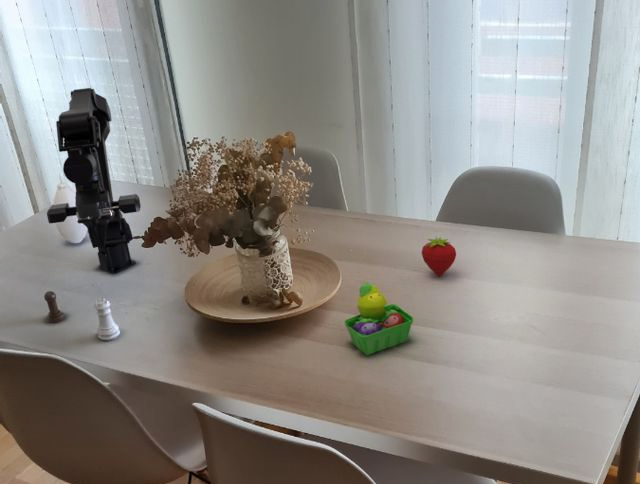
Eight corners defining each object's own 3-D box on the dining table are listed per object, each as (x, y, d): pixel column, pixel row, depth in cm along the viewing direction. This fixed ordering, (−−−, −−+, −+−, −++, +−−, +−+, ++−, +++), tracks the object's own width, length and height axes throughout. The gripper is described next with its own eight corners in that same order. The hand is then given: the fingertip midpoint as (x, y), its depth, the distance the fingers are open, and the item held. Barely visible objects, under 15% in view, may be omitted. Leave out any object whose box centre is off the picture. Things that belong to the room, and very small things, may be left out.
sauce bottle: (88, 247, 215) (71, 177, 205) (57, 249, 215) (38, 180, 206) (95, 234, 221) (79, 166, 212) (65, 236, 222) (48, 169, 212)
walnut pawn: (58, 313, 185) (50, 286, 182) (67, 317, 184) (60, 290, 180) (44, 320, 183) (37, 293, 180) (54, 324, 181) (46, 297, 178)
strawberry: (449, 284, 182) (449, 241, 176) (417, 279, 185) (416, 236, 180) (460, 273, 186) (461, 230, 181) (428, 267, 189) (427, 225, 184)
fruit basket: (363, 361, 159) (360, 307, 153) (341, 340, 166) (336, 288, 160) (416, 342, 163) (414, 289, 157) (391, 323, 170) (389, 271, 164)
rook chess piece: (124, 331, 176) (116, 296, 172) (113, 342, 173) (104, 307, 169) (105, 329, 178) (97, 294, 173) (94, 340, 174) (85, 305, 170)
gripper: (35, 188, 170) (52, 264, 176) (130, 176, 172) (144, 251, 178) (44, 178, 181) (60, 250, 187) (133, 167, 182) (147, 238, 188)
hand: (102, 248), depth 185 cm, fingers closed
